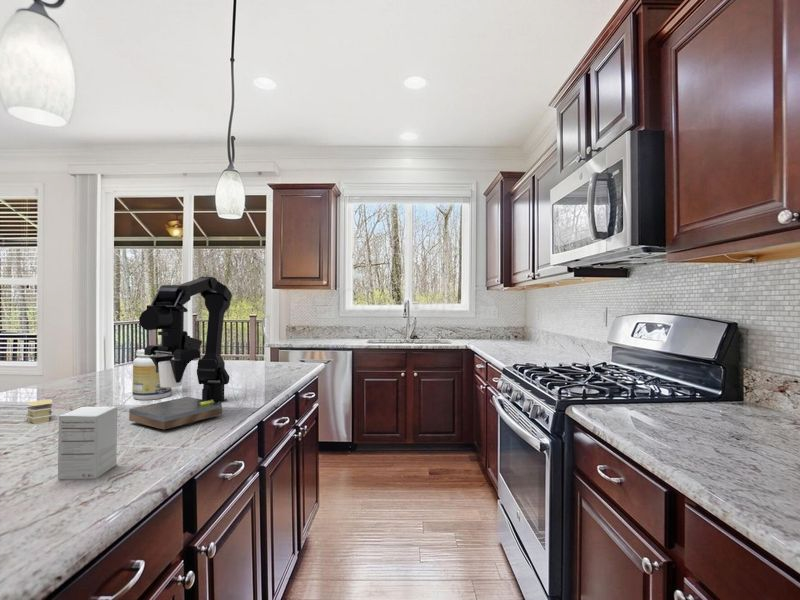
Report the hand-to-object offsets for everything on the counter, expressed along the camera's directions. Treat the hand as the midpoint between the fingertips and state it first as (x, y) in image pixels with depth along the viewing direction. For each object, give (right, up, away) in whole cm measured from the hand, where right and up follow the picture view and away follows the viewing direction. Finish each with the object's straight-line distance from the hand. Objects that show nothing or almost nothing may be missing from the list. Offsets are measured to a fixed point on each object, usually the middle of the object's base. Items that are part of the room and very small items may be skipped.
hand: (171, 381), depth 124 cm
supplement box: (+3, -12, -38) cm, 39 cm away
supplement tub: (-22, -11, +29) cm, 38 cm away
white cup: (0, -1, 0) cm, 1 cm away
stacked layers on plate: (-36, -11, -3) cm, 38 cm away
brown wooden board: (+2, -11, 0) cm, 12 cm away
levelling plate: (+2, -8, 0) cm, 9 cm away
